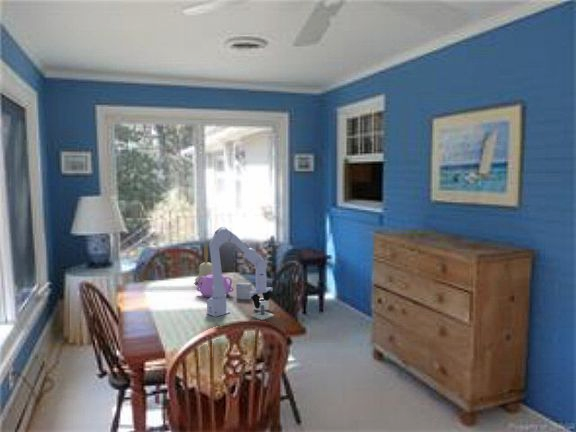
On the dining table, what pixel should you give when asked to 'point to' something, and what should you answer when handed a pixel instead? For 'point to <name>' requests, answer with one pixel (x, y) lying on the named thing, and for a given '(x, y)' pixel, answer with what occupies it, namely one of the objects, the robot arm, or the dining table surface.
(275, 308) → the dining table surface
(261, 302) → the steel collar
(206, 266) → the handbell
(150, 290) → the dining table surface
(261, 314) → the post stand
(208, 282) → the teapot
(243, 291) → the medicine box
